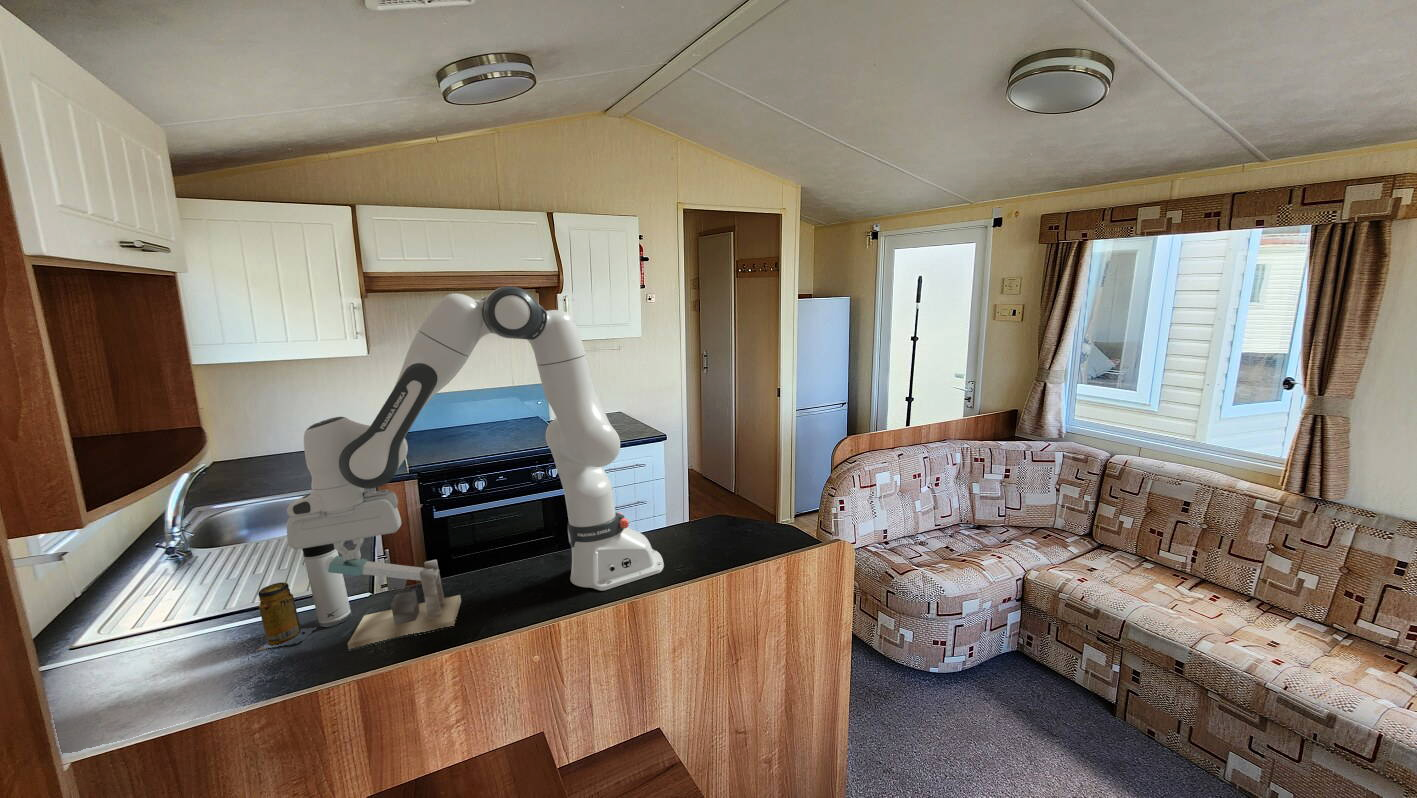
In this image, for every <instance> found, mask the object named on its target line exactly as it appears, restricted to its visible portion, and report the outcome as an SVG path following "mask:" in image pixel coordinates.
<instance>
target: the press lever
mask: <svg viewBox="0 0 1417 798" xmlns="http://www.w3.org/2000/svg"><path fill="white" fill-rule="evenodd" d="M428 569H429V568H425V567H421V566H420V567H419V566H410V565H404V564H403V565H402V564H396V563H394V564H393V563H388V562H387V563H385V562H378V561H377V562H376V561H369V560H368V558H367V559H366V558H360V559H358V560H352V561H347V562H344V561H343V557H342V555H339V556H336V557H329V559H328V560H327V561H326V562H325V565H324V570H328V572H329V573H338V574H343V575H346V576H347V575H349V576H359V577H361V576H362V575H366V576H376V577H383V578H384V577H385V578H389V581H388V586H387V588H388V589H394V590H395V589H397V590H404V589H405V587H406V585H407V582H408V581H407V580H411V581H419V582H421V577H420V572H421V571H423V570H428ZM433 571H434V577H435V582H436V580H437V578H438V574H440V569H439V570H438V569H433Z"/></svg>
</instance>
